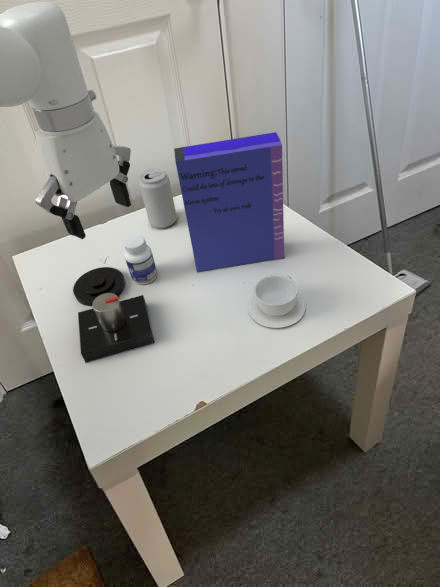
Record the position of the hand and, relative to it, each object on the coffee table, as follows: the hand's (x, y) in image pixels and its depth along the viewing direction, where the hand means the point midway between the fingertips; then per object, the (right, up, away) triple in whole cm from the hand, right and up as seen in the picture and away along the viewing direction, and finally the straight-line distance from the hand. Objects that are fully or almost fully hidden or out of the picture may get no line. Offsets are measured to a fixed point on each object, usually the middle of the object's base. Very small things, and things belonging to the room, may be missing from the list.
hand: (101, 219), depth 73 cm
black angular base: (+1, -19, +8) cm, 20 cm away
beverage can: (+6, +4, +32) cm, 32 cm away
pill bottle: (+4, -8, +19) cm, 21 cm away
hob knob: (0, -17, +7) cm, 18 cm away
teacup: (+29, -14, +8) cm, 33 cm away
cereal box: (+23, -5, +20) cm, 30 cm away
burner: (-5, -11, +17) cm, 21 cm away
